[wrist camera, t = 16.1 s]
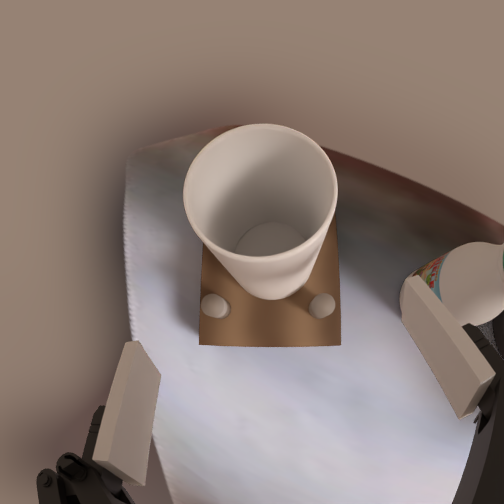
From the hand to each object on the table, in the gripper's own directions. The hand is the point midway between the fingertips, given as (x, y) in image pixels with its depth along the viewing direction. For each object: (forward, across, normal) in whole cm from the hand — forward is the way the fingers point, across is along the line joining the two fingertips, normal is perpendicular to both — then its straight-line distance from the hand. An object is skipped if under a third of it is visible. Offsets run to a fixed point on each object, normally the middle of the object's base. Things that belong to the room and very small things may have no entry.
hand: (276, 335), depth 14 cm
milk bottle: (+14, +18, -15) cm, 28 cm away
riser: (+20, 0, -9) cm, 22 cm away
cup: (+16, +1, -6) cm, 17 cm away
